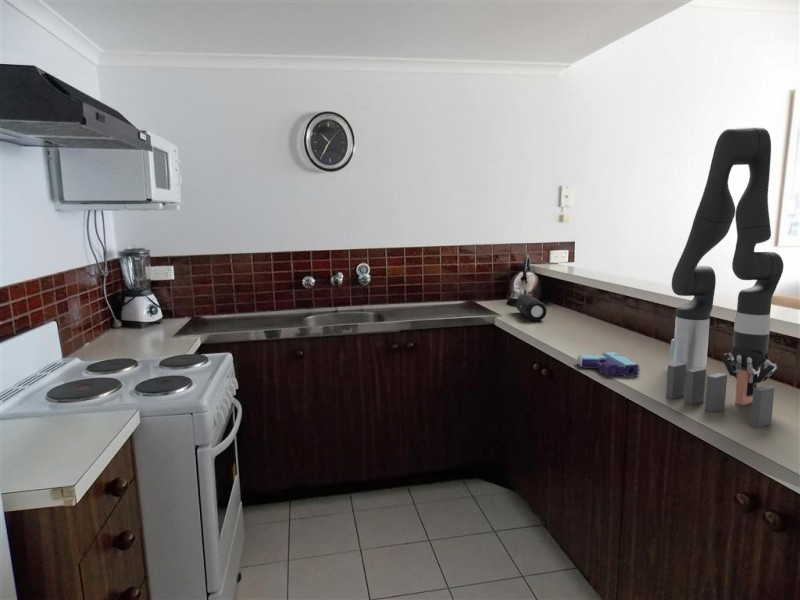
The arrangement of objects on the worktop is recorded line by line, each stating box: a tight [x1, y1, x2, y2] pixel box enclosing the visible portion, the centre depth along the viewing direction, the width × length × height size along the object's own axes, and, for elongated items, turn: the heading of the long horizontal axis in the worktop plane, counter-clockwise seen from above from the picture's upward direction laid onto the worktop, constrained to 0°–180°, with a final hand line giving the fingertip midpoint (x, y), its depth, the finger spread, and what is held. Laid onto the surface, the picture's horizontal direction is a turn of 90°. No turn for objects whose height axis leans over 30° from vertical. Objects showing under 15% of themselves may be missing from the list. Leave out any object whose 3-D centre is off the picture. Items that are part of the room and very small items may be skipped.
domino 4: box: [734, 368, 753, 406], centre depth 133 cm, size 2×5×9 cm, turn 115°
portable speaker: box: [515, 293, 548, 322], centre depth 250 cm, size 26×10×10 cm, turn 0°
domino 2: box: [684, 367, 707, 406], centre depth 134 cm, size 2×5×9 cm, turn 116°
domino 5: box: [749, 384, 775, 429], centre depth 119 cm, size 2×5×9 cm, turn 116°
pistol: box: [577, 351, 641, 378], centre depth 164 cm, size 4×16×15 cm
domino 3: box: [704, 372, 728, 413], centre depth 129 cm, size 2×5×9 cm, turn 116°
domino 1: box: [665, 362, 687, 400], centre depth 139 cm, size 2×5×9 cm, turn 116°
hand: (745, 394), depth 133 cm, fingers closed on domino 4, 1 cm apart
